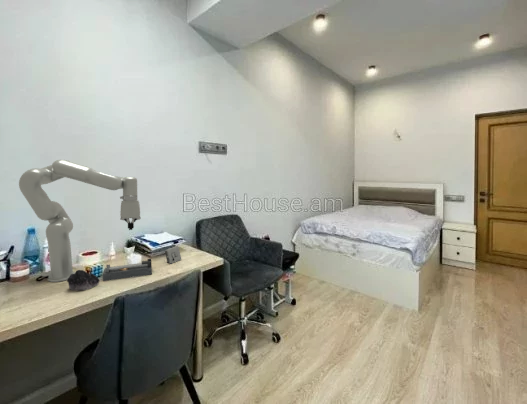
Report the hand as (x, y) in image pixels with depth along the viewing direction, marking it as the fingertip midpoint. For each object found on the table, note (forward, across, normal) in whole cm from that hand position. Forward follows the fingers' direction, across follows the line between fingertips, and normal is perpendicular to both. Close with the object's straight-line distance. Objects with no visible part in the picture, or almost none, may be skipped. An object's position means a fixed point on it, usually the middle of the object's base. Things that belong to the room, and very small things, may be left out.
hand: (130, 229), depth 158 cm
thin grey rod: (+19, -1, -10) cm, 22 cm away
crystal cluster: (+25, -20, -18) cm, 37 cm away
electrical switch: (+23, +24, +5) cm, 34 cm away
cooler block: (+24, -1, -10) cm, 26 cm away
